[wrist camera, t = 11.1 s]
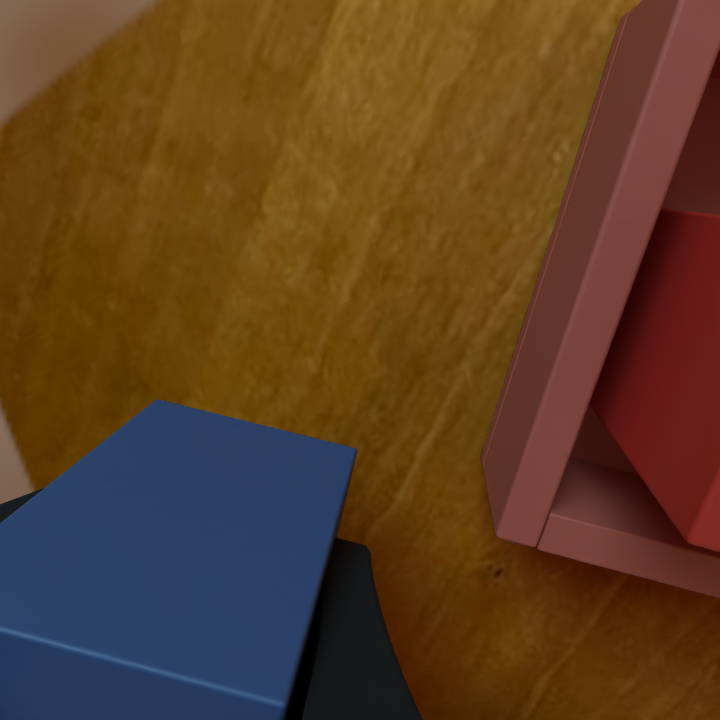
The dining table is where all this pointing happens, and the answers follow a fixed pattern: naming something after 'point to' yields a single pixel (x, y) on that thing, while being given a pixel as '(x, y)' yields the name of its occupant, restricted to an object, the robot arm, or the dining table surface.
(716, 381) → the red block
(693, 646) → the dining table surface
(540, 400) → the red bin
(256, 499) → the blue block
